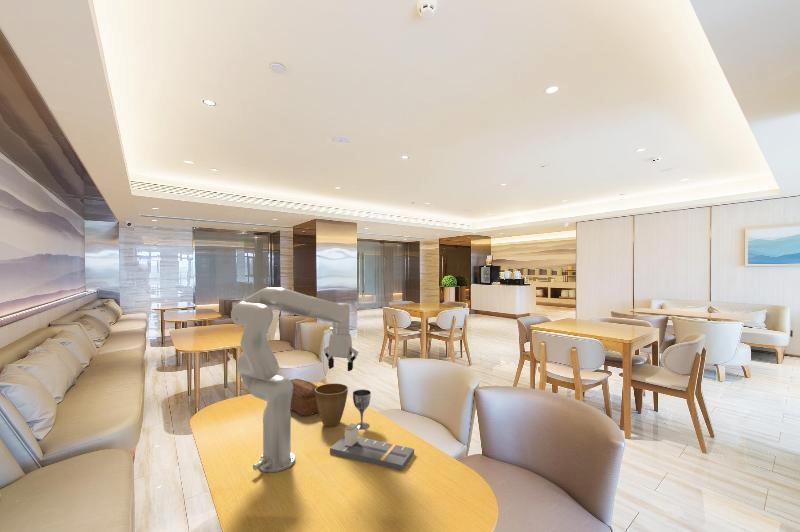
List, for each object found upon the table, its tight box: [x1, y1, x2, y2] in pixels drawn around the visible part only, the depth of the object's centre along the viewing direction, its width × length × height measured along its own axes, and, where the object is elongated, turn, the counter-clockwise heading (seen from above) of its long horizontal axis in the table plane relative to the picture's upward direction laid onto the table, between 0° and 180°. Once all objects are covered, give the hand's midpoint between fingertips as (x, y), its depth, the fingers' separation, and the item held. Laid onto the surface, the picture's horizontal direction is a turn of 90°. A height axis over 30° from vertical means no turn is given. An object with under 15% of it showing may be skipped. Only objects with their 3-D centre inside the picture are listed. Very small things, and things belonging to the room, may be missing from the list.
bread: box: [289, 378, 319, 416], centre depth 179 cm, size 14×28×12 cm, turn 44°
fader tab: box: [344, 422, 359, 447], centre depth 137 cm, size 5×3×6 cm, turn 157°
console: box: [329, 435, 415, 472], centre depth 134 cm, size 12×30×2 cm, turn 67°
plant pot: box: [315, 383, 349, 428], centre depth 160 cm, size 15×15×16 cm
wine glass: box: [352, 388, 372, 431], centre depth 157 cm, size 8×8×15 cm
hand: (340, 369), depth 156 cm, fingers open, 9 cm apart
